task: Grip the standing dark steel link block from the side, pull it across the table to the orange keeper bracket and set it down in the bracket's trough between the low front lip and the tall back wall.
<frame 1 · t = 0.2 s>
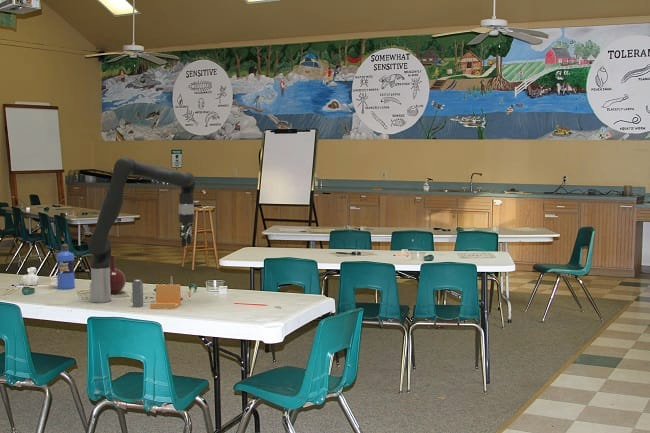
hand: (186, 245, 405), 29 cm above the table, tool pointing down, fingers open, 8 cm apart
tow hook: (174, 300, 414), on the table
round-bottom flask: (113, 293, 435), on the table
keeper bracket: (165, 306, 396), on the table
link block: (138, 306, 398), on the table
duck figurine: (31, 285, 464), on the table
water bottle: (66, 288, 451), on the table
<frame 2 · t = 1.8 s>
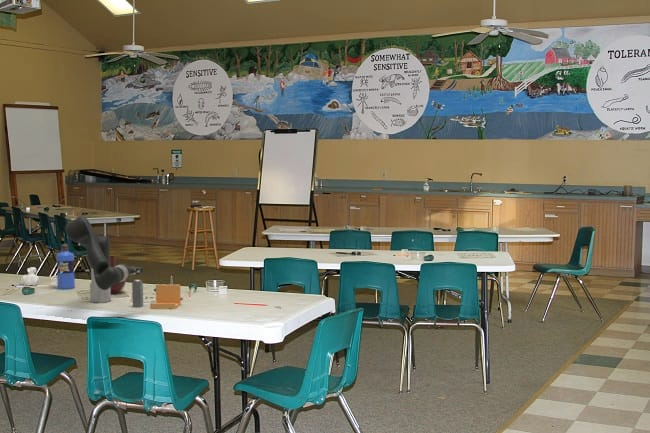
hand: (131, 268, 385), 20 cm above the table, tool horizontal, fingers open, 8 cm apart
nothing on the table moved.
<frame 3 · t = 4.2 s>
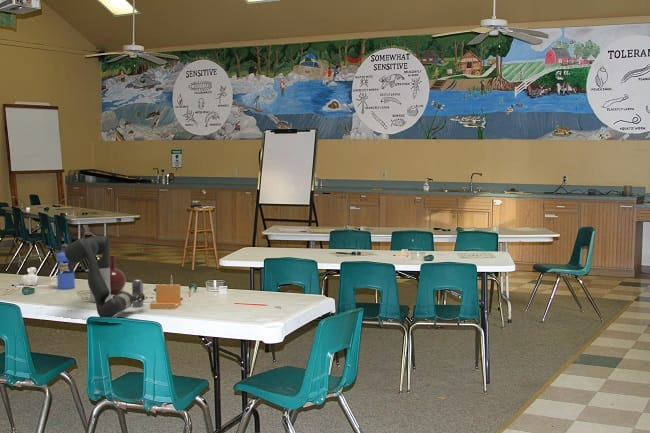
hand: (133, 295, 391), 7 cm above the table, tool horizontal, fingers open, 8 cm apart
nothing on the table moved.
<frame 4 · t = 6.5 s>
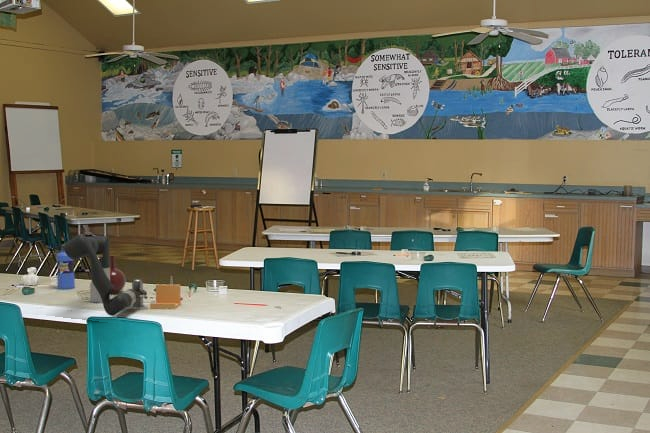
hand: (139, 291, 400), 7 cm above the table, tool horizontal, fingers closed on link block, 4 cm apart
link block: (138, 306, 398), on the table, touching gripper
everything else where it was.
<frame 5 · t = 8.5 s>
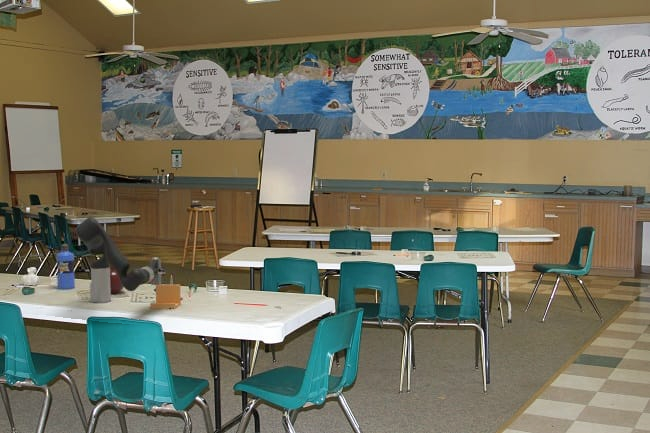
hand: (157, 269, 397), 18 cm above the table, tool horizontal, fingers closed on link block, 4 cm apart
link block: (156, 284, 395), point 11 cm above the table, touching gripper
everything else where it was.
when the fingers open (9 cm above the table, at t = 10.9 s): link block drops 1 cm, resting on keeper bracket.
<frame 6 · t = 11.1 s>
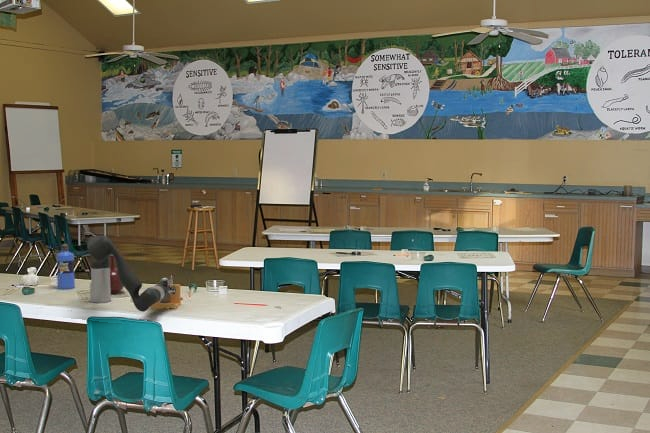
hand: (166, 287, 398), 9 cm above the table, tool horizontal, fingers open, 5 cm apart
link block: (165, 304, 396), point 1 cm above the table, touching keeper bracket
everything else where it was.
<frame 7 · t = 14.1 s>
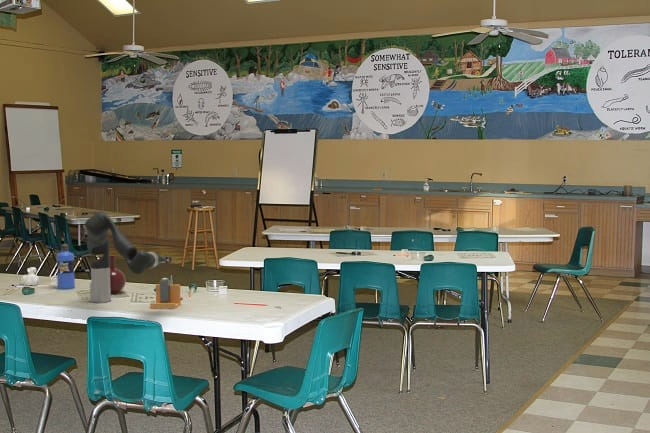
hand: (159, 257, 388), 25 cm above the table, tool horizontal, fingers open, 8 cm apart
nothing on the table moved.
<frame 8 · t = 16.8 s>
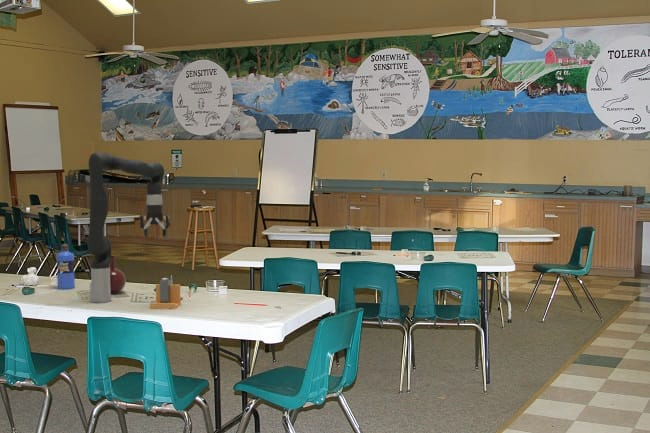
hand: (155, 236, 396), 34 cm above the table, tool pointing down, fingers open, 8 cm apart
nothing on the table moved.
at the end: link block inside the target area on the keeper bracket (0.1 cm from its centre), point 1.0 cm above the keeper bracket's base; link block tilted 0°; the gripper is holding nothing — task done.
